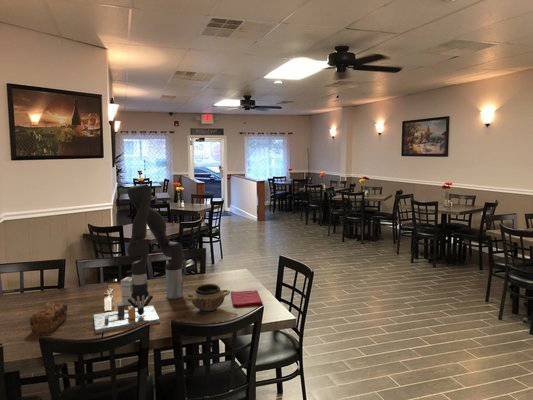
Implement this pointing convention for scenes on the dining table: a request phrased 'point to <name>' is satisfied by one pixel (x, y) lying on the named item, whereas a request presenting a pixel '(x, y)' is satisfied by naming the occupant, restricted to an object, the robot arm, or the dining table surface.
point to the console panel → (123, 319)
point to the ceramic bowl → (207, 297)
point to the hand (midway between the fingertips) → (140, 314)
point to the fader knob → (131, 312)
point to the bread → (48, 317)
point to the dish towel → (246, 299)
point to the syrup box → (126, 290)
